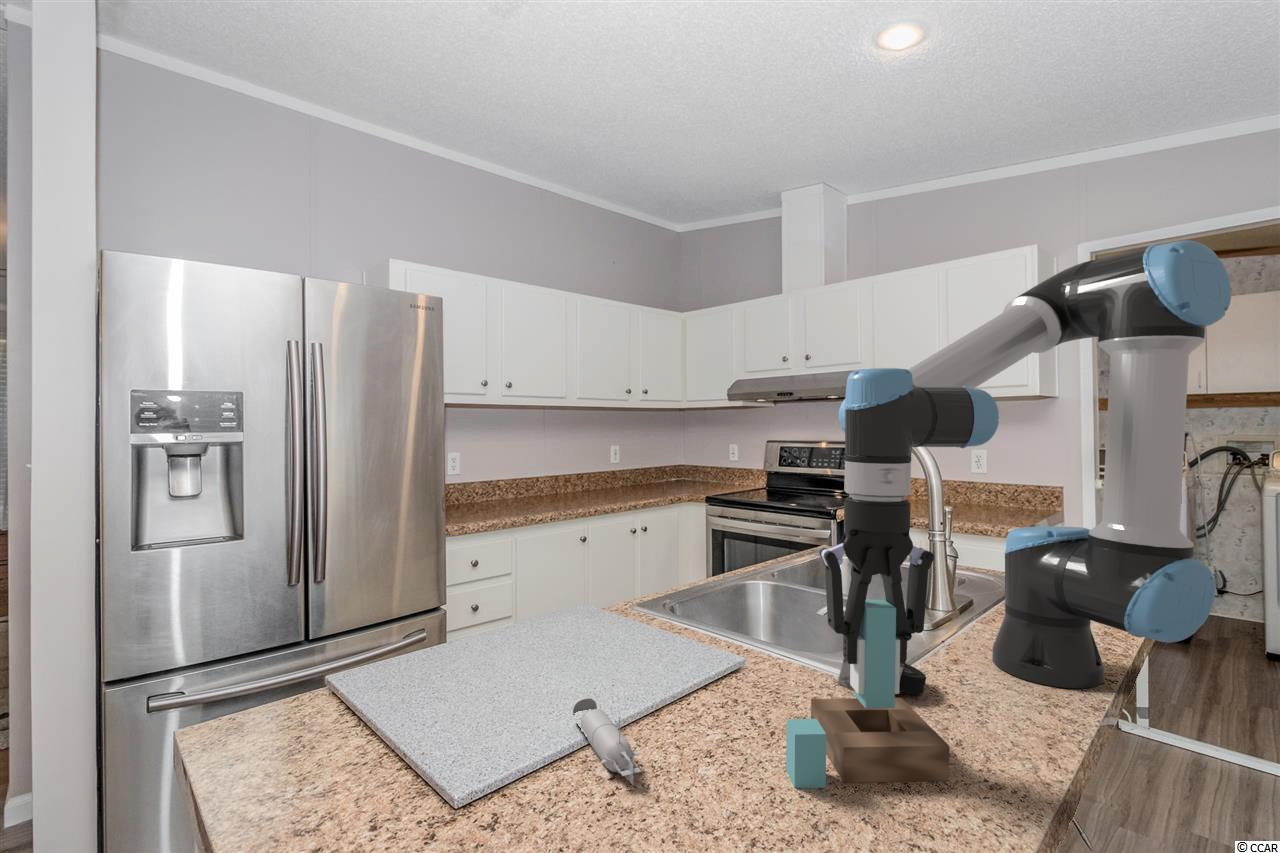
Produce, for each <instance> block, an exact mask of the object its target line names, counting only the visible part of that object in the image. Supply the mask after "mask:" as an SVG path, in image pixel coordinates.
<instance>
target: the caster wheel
mask: <svg viewBox="0 0 1280 853" xmlns="http://www.w3.org/2000/svg"><path fill="white" fill-rule="evenodd" d="M840 667H841V668H840V671H839V675H838V679H837V685H838V686H839V687H842V688H845V689H846V690H850V691H852V692H854V693H855V690H854V688H853V687H852V686H851V685H850V664H848V663H847V661H846V660H845V659H844V658H843V659H842V664H841V666H840ZM926 681H927V676H926V674H925V673H924V672H922V671H921V670H919V669H918V668H916V667H914V666H912V665H910V664H908V663H906V662H905V664H900V681H899V692H901V693H905V694H909V695H914V696H915V695H922V694H923V693H924V688H925V685H926Z"/></svg>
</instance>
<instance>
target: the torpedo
mask: <svg viewBox="0 0 1280 853" xmlns="http://www.w3.org/2000/svg"><path fill="white" fill-rule="evenodd" d="M589 709H591V710H590V711H588V712H586V713H585V714H584V715H583V717H582V720H581V728H582V729H583V730H584V732H585V734H586V735H587V738H588V740H587V741H588V743H589V744H590V746H591V747H592V749H593V750H594V752H595V754H597V755H598V758H599V759H600V760H601V761H600V763H601V764H604V766H605V767H606V768H607V769H608V770H609V771H610V772H612V773H617V774H621V776H622V777H624V778H626V781H629V782H630V783H631V785H632V786H634V774H637V773H641V772H642V770H641V769H640V768H639V766H638V764H637V763H636V762H635V760H634V759H635V756H640V752H634V749H632V746H631V743H630V742H629V741H628V740H627V739H626V737H625V736H624V734H622V733H621V718H622V716H618V717H617V718H618V725H619V726H618V727H617V726H616V724H615V723H614V722H613V721H612V720H611V718H610V717H609V716H608V714H606V712H605V711H604V710H602V709H600V708H598V706H597V702H596V701H595V700H594V699H593V698H591V697H586V696H585V697H581V698H579V699H576V700H575V702H574V703H573V705H572V710H571V712H572V713H573V714H572V716H573V715H575V714H574V713H576V712H578V711H583V710H589Z"/></svg>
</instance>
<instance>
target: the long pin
mask: <svg viewBox="0 0 1280 853" xmlns="http://www.w3.org/2000/svg"><path fill="white" fill-rule="evenodd" d="M859 635H860V636H861V637H862V638H863V639H865V688H864V694H858V693H857V692H856V691H855V692H854V698H857V699H858V700H859V701H860V702H861V704H862V705H863V706H864V707H865V708H866V709H873V708H895V698H896V694H895V651H896V608H895V607H894V606H893V605H891V604H890V603H888V602H887V601H886V599H884V598H883V599H876V598H875V599H872V598H871V599H868V598H866V601H865V606H864V611H863V617H862V622H861V627H860V632H859Z"/></svg>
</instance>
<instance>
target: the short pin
mask: <svg viewBox="0 0 1280 853" xmlns="http://www.w3.org/2000/svg"><path fill="white" fill-rule="evenodd" d="M785 725H786V731H785V734H786V736H785V737H786V738H785V739H786V740H785V742H786V743H785V744H786V745H785V747H786V748H785V750H786V751H785V753H786V754H785V763H786V764H785V767H786V768H785V770H786V773H787V775H788V777H789V779H790V781H791V783H792V785H793V787H794V789H814V788H815V789H818V788H822V789H823V788H826V787H827V755H826V733H825V731H824V730H823V728H822V727H821V725H820V724H819V722H818V720H817V719H811V718H789V719H788V718H786V724H785Z"/></svg>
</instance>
